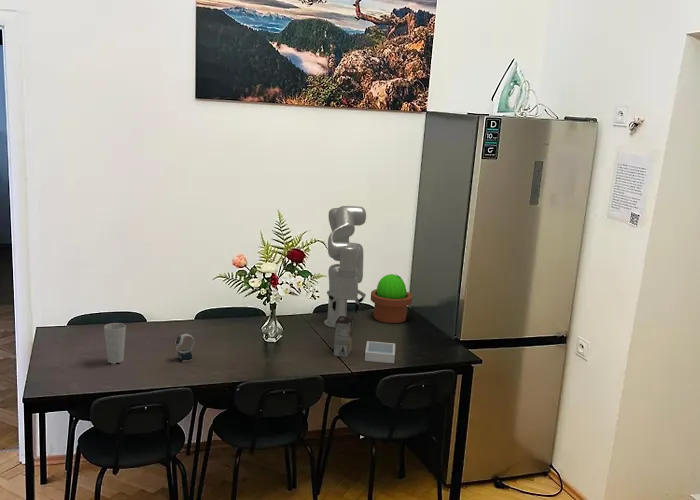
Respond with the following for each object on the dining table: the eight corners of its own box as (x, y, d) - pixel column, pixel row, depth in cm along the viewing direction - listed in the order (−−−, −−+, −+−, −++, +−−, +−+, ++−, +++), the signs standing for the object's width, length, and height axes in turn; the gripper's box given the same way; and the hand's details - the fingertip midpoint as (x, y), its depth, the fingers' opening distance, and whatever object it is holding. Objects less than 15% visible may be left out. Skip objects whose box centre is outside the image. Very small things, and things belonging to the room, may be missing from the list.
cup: (114, 367, 249) (113, 331, 245) (99, 362, 253) (99, 326, 249) (131, 361, 256) (130, 325, 253) (116, 356, 260) (116, 321, 257)
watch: (173, 358, 262) (173, 333, 259) (192, 355, 266) (192, 331, 263) (176, 363, 257) (176, 338, 255) (195, 360, 261) (196, 335, 259)
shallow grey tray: (366, 349, 285) (367, 341, 285) (394, 351, 285) (395, 343, 284) (364, 360, 272) (365, 352, 271) (394, 363, 271) (394, 354, 270)
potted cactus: (370, 323, 321) (373, 277, 316) (368, 310, 343) (371, 267, 337) (412, 326, 322) (416, 279, 316) (407, 313, 343) (411, 269, 338)
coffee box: (337, 348, 284) (339, 315, 281) (351, 350, 283) (353, 316, 280) (333, 355, 276) (335, 321, 272) (347, 357, 274) (349, 323, 271)
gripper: (326, 274, 268) (324, 311, 272) (366, 277, 267) (364, 315, 270) (329, 270, 276) (327, 307, 279) (367, 273, 275) (365, 310, 278)
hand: (345, 311), depth 275 cm, fingers open, 9 cm apart
